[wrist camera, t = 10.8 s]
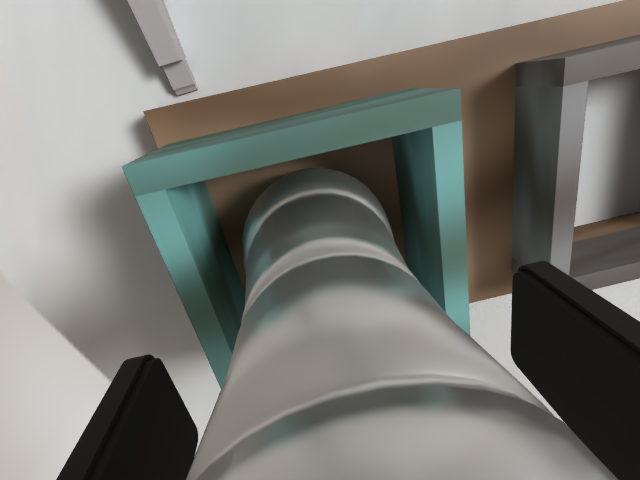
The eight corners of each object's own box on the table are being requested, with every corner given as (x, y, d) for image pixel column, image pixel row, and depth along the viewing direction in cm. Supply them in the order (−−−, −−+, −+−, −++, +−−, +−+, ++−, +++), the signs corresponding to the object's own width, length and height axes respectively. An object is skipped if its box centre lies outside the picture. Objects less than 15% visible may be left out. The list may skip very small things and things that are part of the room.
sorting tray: (154, 109, 16) (83, 121, 10) (731, -24, 17) (981, -86, 11) (243, 340, 22) (229, 434, 16) (671, 238, 22) (812, 293, 16)
